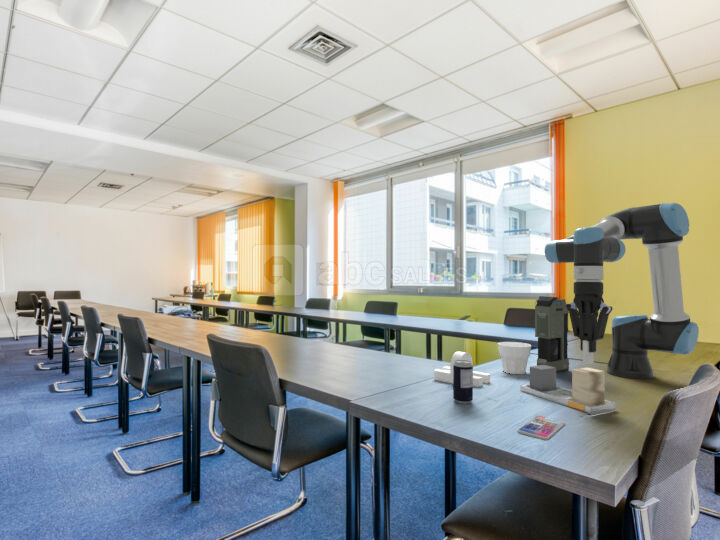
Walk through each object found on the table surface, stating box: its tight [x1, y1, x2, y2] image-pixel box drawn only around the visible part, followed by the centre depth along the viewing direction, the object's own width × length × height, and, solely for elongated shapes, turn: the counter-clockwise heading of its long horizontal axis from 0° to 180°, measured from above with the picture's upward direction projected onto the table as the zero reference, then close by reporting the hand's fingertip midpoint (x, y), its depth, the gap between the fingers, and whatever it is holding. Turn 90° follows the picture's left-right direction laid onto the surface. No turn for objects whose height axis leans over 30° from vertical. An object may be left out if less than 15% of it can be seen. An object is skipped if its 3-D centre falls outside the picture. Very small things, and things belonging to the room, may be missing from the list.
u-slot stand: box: [433, 350, 491, 388], centre depth 146 cm, size 10×18×11 cm, turn 47°
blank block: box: [529, 365, 557, 391], centre depth 131 cm, size 7×5×8 cm
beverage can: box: [452, 360, 474, 405], centre depth 122 cm, size 6×6×12 cm
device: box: [534, 295, 570, 375], centre depth 163 cm, size 14×8×30 cm, turn 124°
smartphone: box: [516, 415, 566, 441], centre depth 101 cm, size 7×1×15 cm
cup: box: [497, 341, 532, 375], centre depth 161 cm, size 12×12×11 cm
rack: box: [519, 383, 616, 416], centre depth 123 cm, size 11×24×2 cm, turn 26°
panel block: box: [571, 367, 606, 406], centre depth 116 cm, size 7×5×10 cm
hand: (588, 362), depth 117 cm, fingers closed
